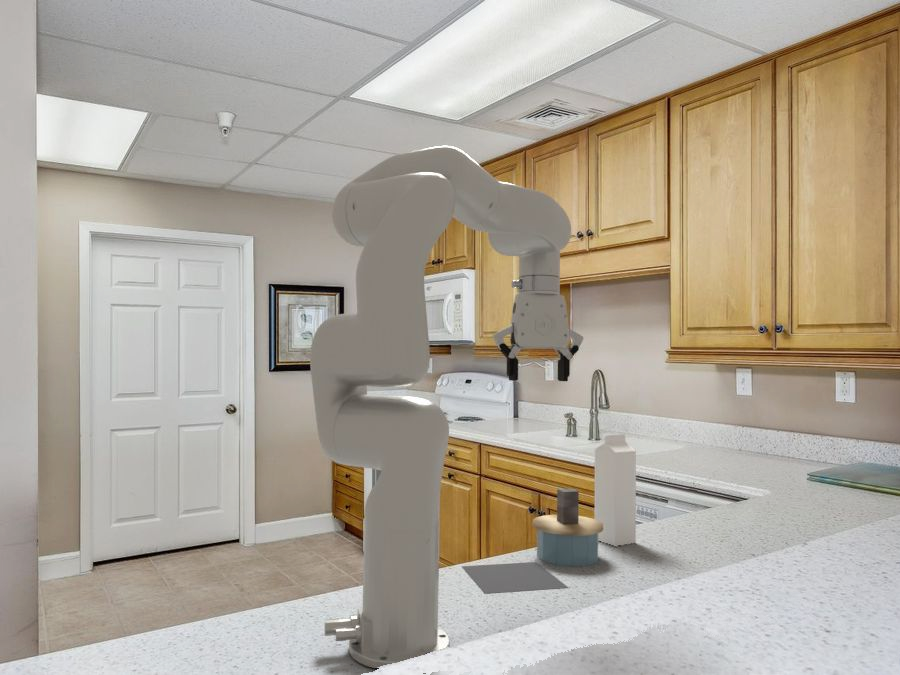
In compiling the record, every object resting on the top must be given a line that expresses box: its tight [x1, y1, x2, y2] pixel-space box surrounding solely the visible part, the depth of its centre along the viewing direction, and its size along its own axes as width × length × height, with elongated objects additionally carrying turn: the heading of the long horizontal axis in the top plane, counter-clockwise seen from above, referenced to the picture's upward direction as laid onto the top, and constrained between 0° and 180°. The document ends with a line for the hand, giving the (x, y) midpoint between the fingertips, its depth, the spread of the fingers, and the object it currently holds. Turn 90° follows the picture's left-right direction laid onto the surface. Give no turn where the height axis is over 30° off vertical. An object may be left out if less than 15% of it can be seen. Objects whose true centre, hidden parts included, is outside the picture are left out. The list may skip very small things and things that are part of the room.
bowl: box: [536, 529, 599, 567], centre depth 122 cm, size 11×11×6 cm
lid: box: [532, 488, 603, 536], centre depth 122 cm, size 13×13×7 cm
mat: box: [461, 561, 569, 595], centre depth 110 cm, size 14×14×1 cm
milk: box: [593, 433, 637, 547], centre depth 135 cm, size 6×6×22 cm
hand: (538, 380), depth 120 cm, fingers open, 9 cm apart
